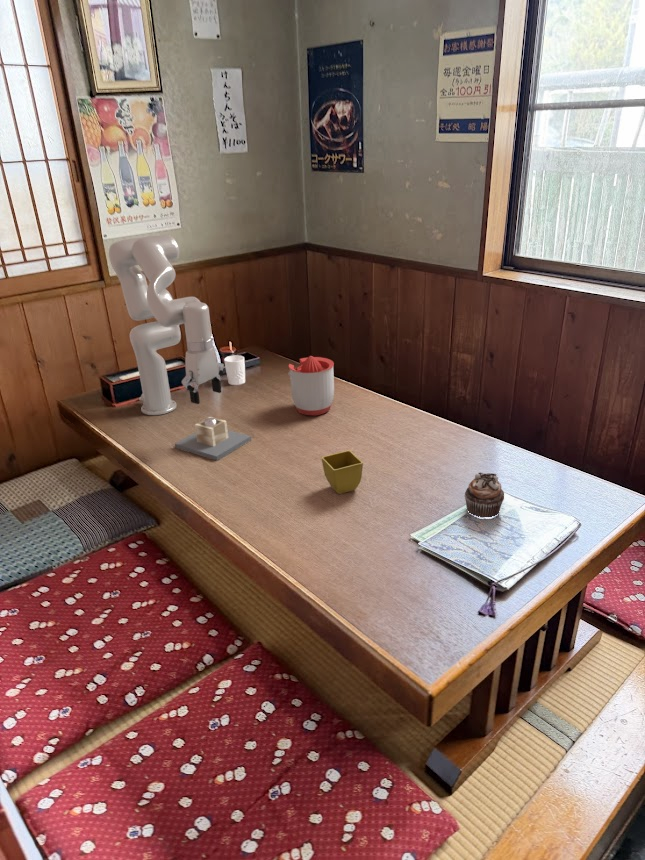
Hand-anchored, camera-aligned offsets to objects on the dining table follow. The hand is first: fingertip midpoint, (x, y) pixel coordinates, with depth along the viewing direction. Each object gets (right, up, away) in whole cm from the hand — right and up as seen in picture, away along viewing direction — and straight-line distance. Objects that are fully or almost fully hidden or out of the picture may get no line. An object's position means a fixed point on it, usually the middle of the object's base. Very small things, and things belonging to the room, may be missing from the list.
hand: (206, 397), depth 197 cm
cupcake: (+77, -31, -36) cm, 90 cm away
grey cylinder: (+1, -13, +6) cm, 15 cm away
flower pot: (+42, -26, -22) cm, 54 cm away
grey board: (+1, -15, +6) cm, 16 cm away
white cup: (+2, +9, +56) cm, 57 cm away
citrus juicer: (+32, -3, +28) cm, 43 cm away
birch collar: (+1, -13, +6) cm, 15 cm away
